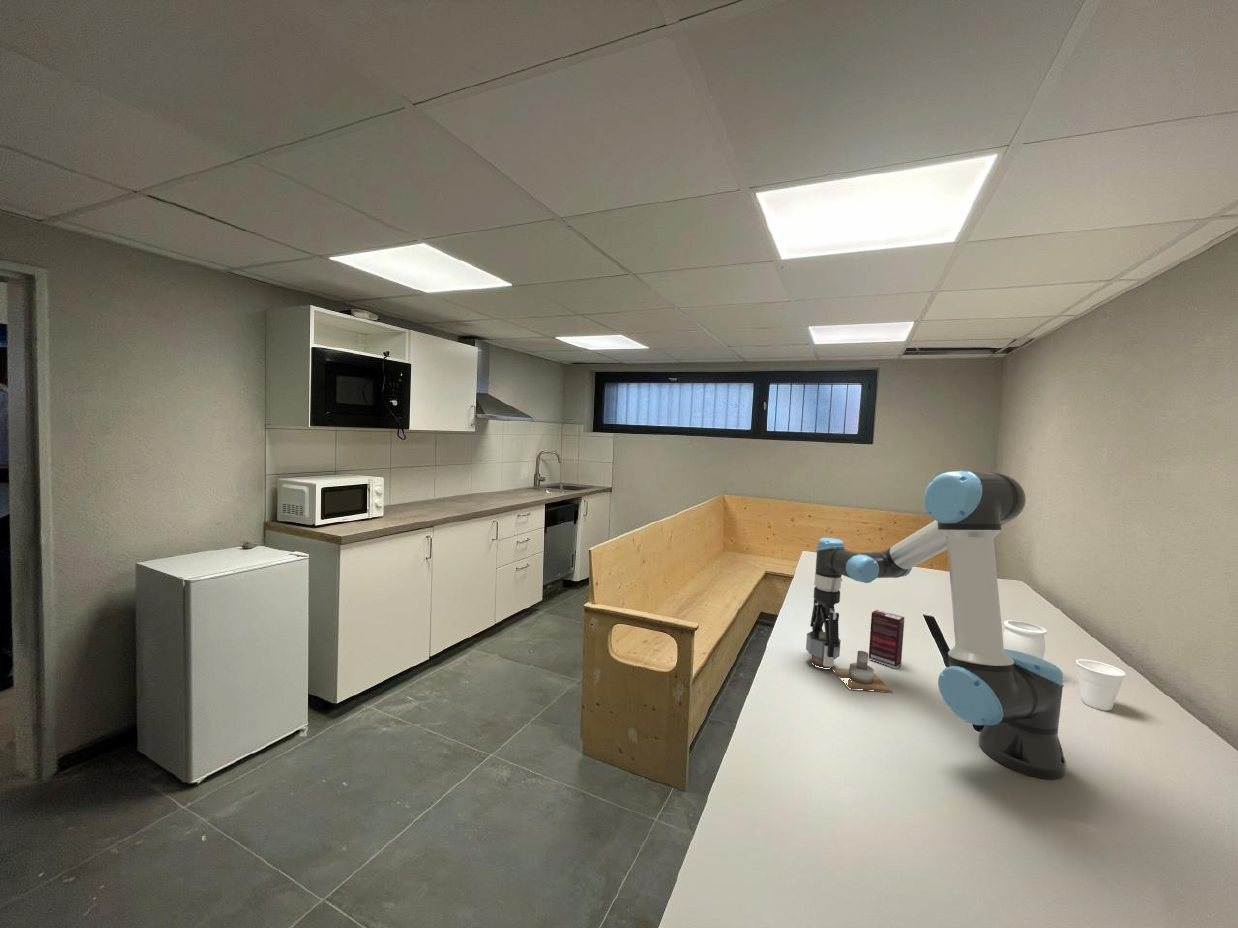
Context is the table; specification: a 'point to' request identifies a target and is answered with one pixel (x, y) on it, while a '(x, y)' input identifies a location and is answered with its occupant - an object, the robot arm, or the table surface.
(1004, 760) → the robot arm
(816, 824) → the table surface
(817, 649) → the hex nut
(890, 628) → the supplement box
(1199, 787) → the table surface
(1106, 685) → the cup
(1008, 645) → the jar
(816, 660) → the stand
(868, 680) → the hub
